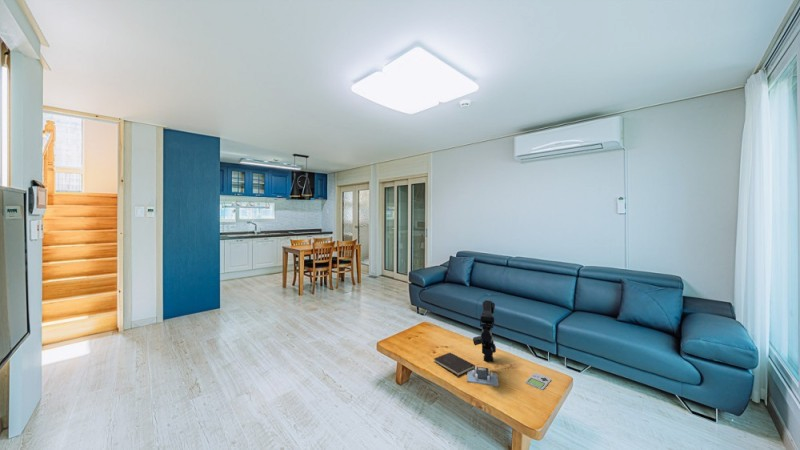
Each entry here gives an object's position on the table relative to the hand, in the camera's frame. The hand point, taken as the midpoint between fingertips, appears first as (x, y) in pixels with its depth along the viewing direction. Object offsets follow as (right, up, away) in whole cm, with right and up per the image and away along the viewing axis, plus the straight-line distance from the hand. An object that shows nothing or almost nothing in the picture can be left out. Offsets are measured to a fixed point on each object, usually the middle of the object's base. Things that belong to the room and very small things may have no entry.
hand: (486, 358), depth 174 cm
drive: (-3, -11, -2) cm, 12 cm away
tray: (-4, -12, -2) cm, 12 cm away
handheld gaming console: (+30, -12, -5) cm, 33 cm away
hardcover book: (-18, -11, +13) cm, 25 cm away
